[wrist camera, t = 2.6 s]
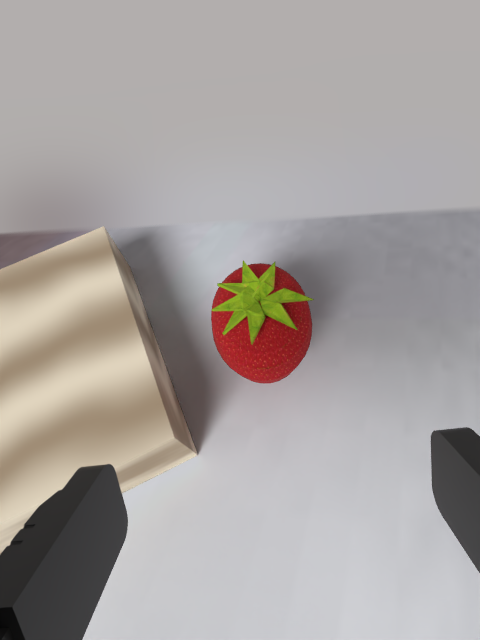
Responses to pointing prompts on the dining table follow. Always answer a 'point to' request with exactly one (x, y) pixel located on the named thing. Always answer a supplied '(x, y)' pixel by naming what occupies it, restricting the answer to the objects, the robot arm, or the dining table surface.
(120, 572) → the dining table surface
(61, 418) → the birch stand
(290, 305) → the strawberry
